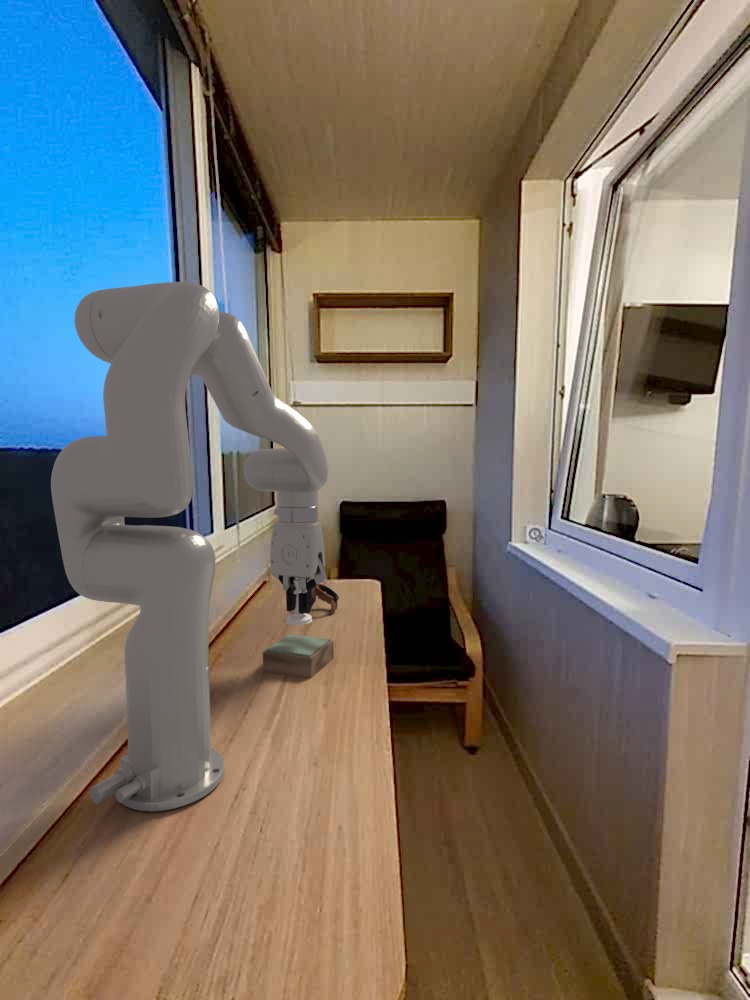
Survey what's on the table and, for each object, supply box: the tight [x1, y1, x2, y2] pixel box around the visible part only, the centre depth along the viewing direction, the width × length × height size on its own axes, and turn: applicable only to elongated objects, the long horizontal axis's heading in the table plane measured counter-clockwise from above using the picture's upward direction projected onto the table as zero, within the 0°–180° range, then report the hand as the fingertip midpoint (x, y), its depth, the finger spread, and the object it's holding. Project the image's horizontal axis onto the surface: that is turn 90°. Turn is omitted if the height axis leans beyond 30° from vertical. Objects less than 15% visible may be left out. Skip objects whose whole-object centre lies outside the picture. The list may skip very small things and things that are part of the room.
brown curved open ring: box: [305, 583, 340, 615], centre depth 139 cm, size 12×10×8 cm
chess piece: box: [286, 578, 313, 626], centre depth 104 cm, size 5×5×10 cm
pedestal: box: [262, 633, 335, 678], centre depth 105 cm, size 10×10×4 cm
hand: (299, 610), depth 104 cm, fingers closed on chess piece
